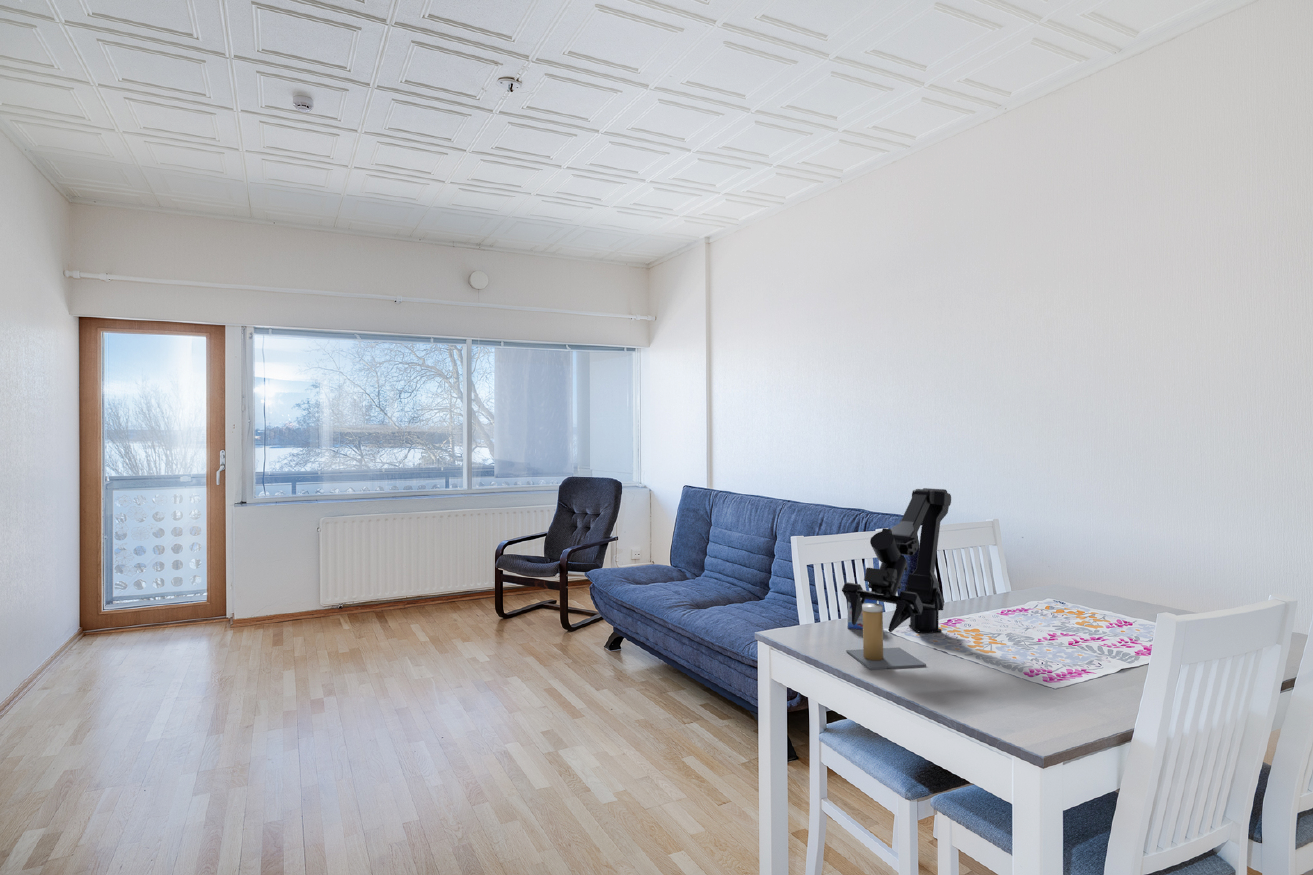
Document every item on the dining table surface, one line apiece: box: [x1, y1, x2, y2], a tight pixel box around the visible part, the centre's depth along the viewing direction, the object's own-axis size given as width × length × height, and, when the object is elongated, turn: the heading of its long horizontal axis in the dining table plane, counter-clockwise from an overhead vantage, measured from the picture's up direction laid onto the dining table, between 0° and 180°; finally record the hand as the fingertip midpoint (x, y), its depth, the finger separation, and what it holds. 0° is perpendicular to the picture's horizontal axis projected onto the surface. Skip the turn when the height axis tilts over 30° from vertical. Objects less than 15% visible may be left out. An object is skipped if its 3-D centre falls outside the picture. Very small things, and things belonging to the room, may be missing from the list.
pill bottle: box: [862, 603, 884, 661], centre depth 174 cm, size 5×5×12 cm
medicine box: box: [847, 599, 878, 630], centre depth 201 cm, size 8×4×9 cm, turn 73°
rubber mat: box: [845, 646, 927, 671], centre depth 174 cm, size 14×13×1 cm
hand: (871, 627), depth 172 cm, fingers open, 9 cm apart
